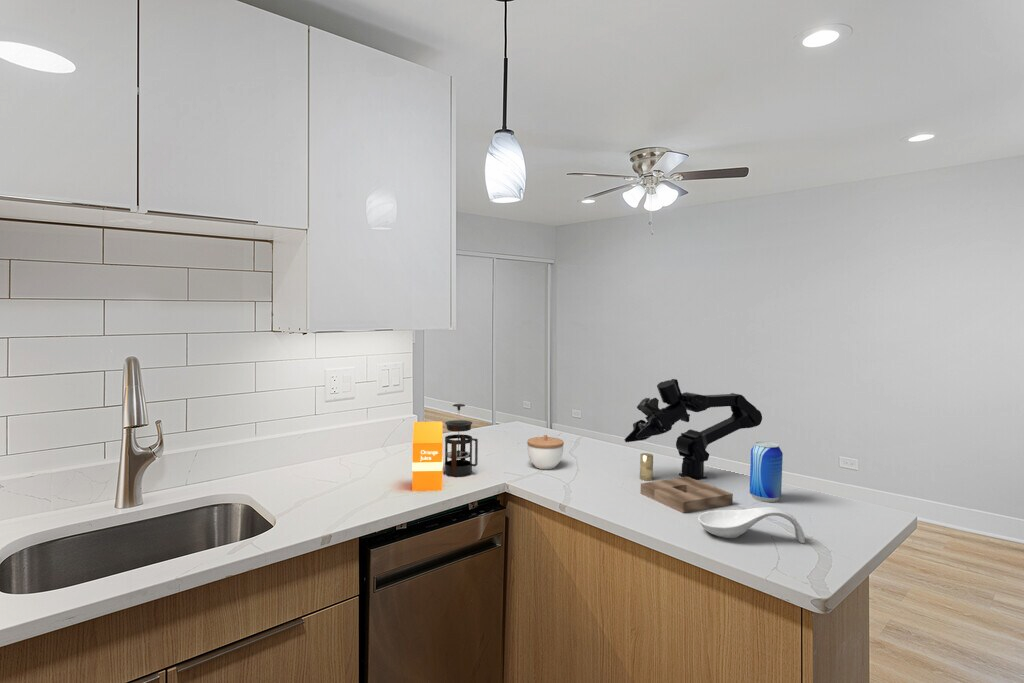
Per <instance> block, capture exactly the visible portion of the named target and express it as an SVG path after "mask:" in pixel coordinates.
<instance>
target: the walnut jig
mask: <svg viewBox="0 0 1024 683" xmlns="http://www.w3.org/2000/svg"><path fill="white" fill-rule="evenodd" d="M640 494H641V495H642V496H645V497H647V498H650V499H651V500H653V501H655V502H658V503H659V504H660V503H661V504H662V505H664V506H666V507H669V508H671V509H674V510H676V511H678V512H679V513H682V514H686V513H687V514H688V513H692V511H693V512H697V511H703V510H707V509H713V508H718V507H719V506H720V507H724V506H729V504H731V505H733V500H734V499H733V498H734V497H733V495H734V493H732V492H729V491H727V490H725V489H721V488H718V487H716V486H714V485H710V484H708V483H706V482H703V481H700V480H699V479H696V480H695V479H692V478H690V477H683V476H681V477H677V478H676V477H675V478H669V479H662V480H656V481H647V482H643V483H642V482H641V483H640Z"/></svg>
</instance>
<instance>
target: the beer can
mask: <svg viewBox="0 0 1024 683" xmlns="http://www.w3.org/2000/svg"><path fill="white" fill-rule="evenodd" d="M752 446H753V447H752V448H751V450H750V465H749V466H750V469H749V493H750V495H751V497H752V498H753V499H754V498H755V499H754V500H756V499H757V501H759V500H761V501H760V502H764V501H766V502H765V503H774V502H775V501H776V502H778V501H779V500H780V498H781V497H782V484H783V483H782V482H783V480H782V479H783V451H782V449H781V448H780V444H778V443H776V442H771V441H755V442H754V445H752ZM776 502H775V503H776Z"/></svg>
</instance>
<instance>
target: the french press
mask: <svg viewBox="0 0 1024 683" xmlns="http://www.w3.org/2000/svg"><path fill="white" fill-rule="evenodd" d="M452 406H453V407H456V409H457V414H458V415H457V417H458V418H457V419H458V420H457V419H454V420H448V421H445V422H444V425H446V429H447V431H448V432H455V433H457V434H449V435H446V436H445V437H444V443H445V444H444V471H443V474H444V476H447V477H450V478H451V477H452V478H464V477H468V476H471V475H472V474H473V467H477V466H478V461H479V460H478V458H479V456H478V453H479V452H478V451H479V449H478V446H479V439H478V438H473V436H472V435H469V434H460V432H468V431H471V429H472V425H473V422H472V421H471V420H464V419H460V411H461V407H465V406H466V404H464V403H455V404H452ZM473 441H475V442H474V445H475V448H474V463H473ZM448 444H449V445H451V448H450V449H451V450H450V451H449V450H448V448H449V447H448ZM466 444H469V451H466ZM448 451H449V452H448ZM468 458H469V460H466V459H468ZM448 459H451V460H448Z"/></svg>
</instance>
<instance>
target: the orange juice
mask: <svg viewBox="0 0 1024 683" xmlns="http://www.w3.org/2000/svg"><path fill="white" fill-rule="evenodd" d="M412 430H413V432H412V462H411V463H412V464H411V465H412V466H411V467H412V483H411V484H412V485H411V486H412V492H427V491H428V492H432V491H434V492H435V491H437V492H439V491H443V469H444V468H443V464H444V463H443V459H444V457H443V454H444V453H443V452H444V450H443V449H444V447H443V440H444V439H443V438H444V436H443V421H413V428H412Z"/></svg>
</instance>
